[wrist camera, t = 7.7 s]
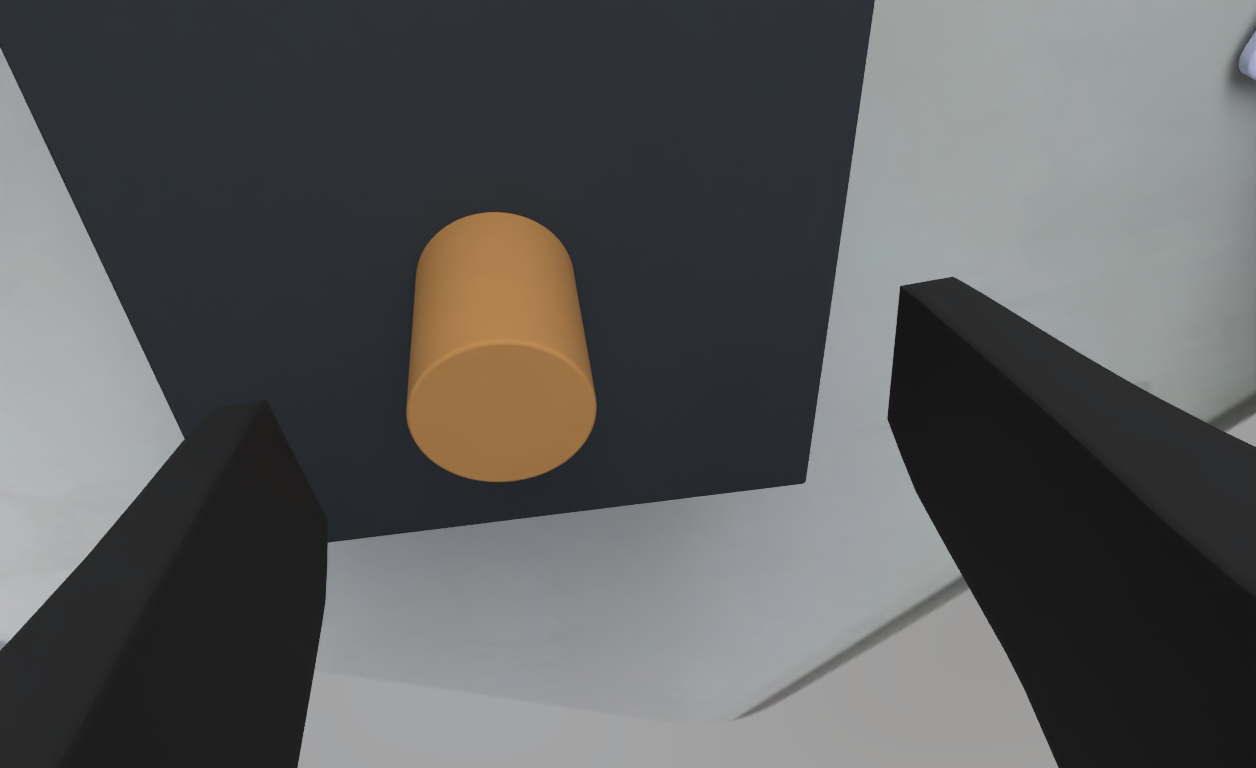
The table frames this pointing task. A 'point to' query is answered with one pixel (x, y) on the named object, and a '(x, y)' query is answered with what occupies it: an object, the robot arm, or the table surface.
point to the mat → (443, 118)
